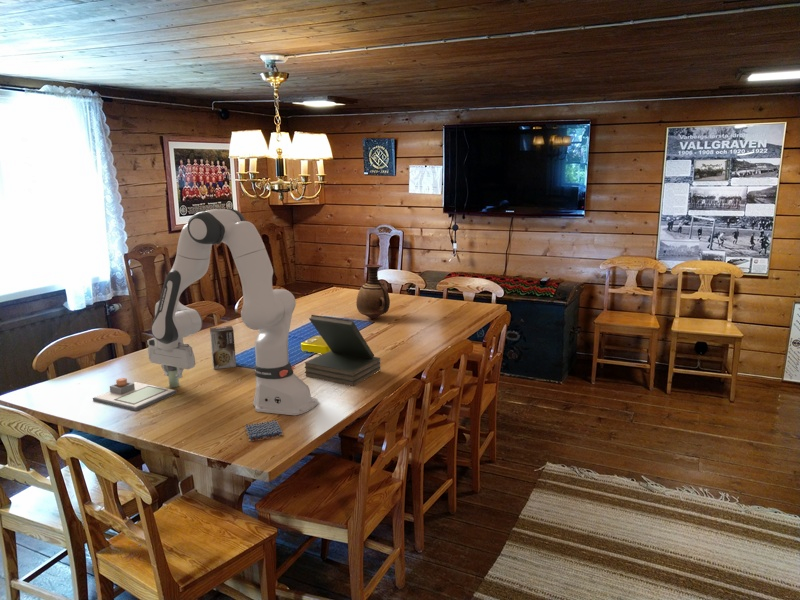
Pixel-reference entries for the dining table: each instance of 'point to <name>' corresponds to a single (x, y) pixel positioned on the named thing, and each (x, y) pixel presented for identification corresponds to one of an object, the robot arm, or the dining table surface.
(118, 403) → the cream board with holder
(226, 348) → the coffee box
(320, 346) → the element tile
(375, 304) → the vase
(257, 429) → the woven mat
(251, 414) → the dining table surface
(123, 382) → the button
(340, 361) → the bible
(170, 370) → the marker
